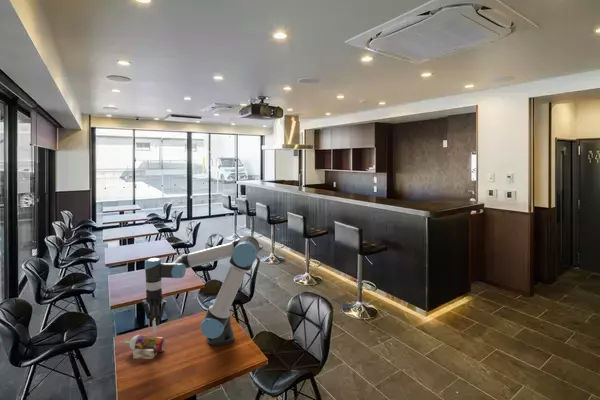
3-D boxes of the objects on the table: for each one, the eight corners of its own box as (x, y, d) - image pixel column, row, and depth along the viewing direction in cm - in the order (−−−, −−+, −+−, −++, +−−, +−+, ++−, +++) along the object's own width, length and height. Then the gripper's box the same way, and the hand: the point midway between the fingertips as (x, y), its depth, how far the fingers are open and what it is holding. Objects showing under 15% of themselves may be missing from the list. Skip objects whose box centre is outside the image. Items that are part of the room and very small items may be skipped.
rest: (163, 344, 184) (162, 337, 184) (152, 358, 171) (152, 350, 171) (144, 344, 184) (144, 336, 184) (133, 358, 171) (132, 350, 171)
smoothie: (160, 346, 172) (120, 342, 171) (161, 357, 176) (121, 353, 174) (166, 333, 180) (128, 329, 178) (166, 344, 183) (129, 340, 182)
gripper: (169, 285, 177) (170, 327, 180) (144, 285, 177) (146, 327, 180) (163, 291, 170) (165, 335, 173) (137, 290, 170) (139, 334, 173)
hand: (155, 331), depth 176 cm, fingers closed
